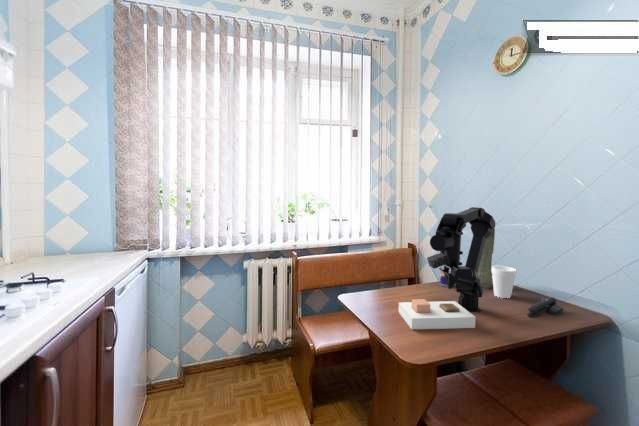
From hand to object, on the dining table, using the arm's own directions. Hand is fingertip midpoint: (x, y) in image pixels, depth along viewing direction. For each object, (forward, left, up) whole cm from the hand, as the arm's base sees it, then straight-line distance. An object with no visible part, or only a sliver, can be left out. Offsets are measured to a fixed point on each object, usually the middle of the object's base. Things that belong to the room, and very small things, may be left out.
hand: (449, 288), depth 107 cm
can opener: (-40, -3, -13) cm, 42 cm away
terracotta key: (+11, 0, -9) cm, 14 cm away
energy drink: (-17, -36, -12) cm, 42 cm away
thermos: (-35, -35, -12) cm, 51 cm away
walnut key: (0, 0, -11) cm, 11 cm away
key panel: (+5, 0, -12) cm, 13 cm away
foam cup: (-36, -21, -12) cm, 44 cm away
